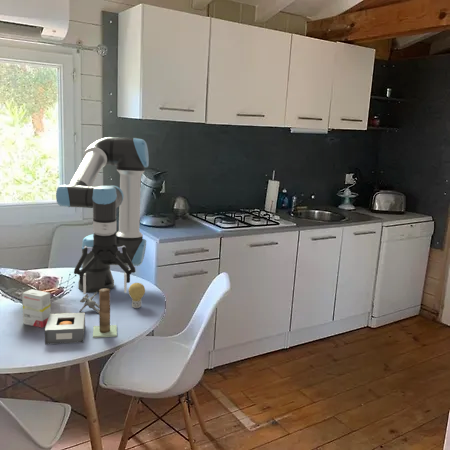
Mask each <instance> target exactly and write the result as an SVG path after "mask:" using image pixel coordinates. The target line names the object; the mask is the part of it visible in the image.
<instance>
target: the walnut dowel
mask: <svg viewBox="0 0 450 450" xmlns="http://www.w3.org/2000/svg"><path fill="white" fill-rule="evenodd" d="M98 295H99V299H98V301H99V304H98V305H99V308H98V310H99V313H98V315H99V317H98V321H99V322H98V323H99V325H98V326H100V332H101V333H107V332H109V331H110V325H111V290H110V289H106V288H105V289H100V290H99V292H98Z"/></svg>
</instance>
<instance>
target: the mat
mask: <svg viewBox="0 0 450 450" xmlns="http://www.w3.org/2000/svg"><path fill="white" fill-rule="evenodd" d="M117 327H118V326H117V324H110V331H109V332H107V333H101V332H100V326H99V325H93V329H92V338H95V339H97V338H115V337H118V334H117V333H118V332H117V330H118V328H117Z"/></svg>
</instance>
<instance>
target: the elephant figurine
mask: <svg viewBox="0 0 450 450" xmlns="http://www.w3.org/2000/svg"><path fill="white" fill-rule="evenodd" d="M97 294H98V293H97V292H96V293H94V294H93V295H91V297H90V296H89V295H88V293H86V294H84V296H83V297H82V299H80V301H79V302H80V303H84V304H83V306H82V308H81V309H80V310H79V312H78V313H82V311H83V310H84V309H85V308H86V307H87V306H88V308H89V309H92V310H94V311H95V312H96V313H97V314H99V304H98V303H96V301H95V300H94V298H95V297H96V295H97Z"/></svg>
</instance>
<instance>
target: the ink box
mask: <svg viewBox="0 0 450 450" xmlns="http://www.w3.org/2000/svg"><path fill="white" fill-rule="evenodd" d="M21 296H22V298H21V299H22V301H21V302H22V318H23V319H22V320H23V325H26V326H32V327H37V328H41V329H42V328H44V329H45V328H46V324H47V321H48V317H49V314H52V312H51V311H52V309H51V307H52V305H51V293H50V292H46V291H42V290H37V289H32V288H31V289H29V290H26V291H24V292H22V293H21Z"/></svg>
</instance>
